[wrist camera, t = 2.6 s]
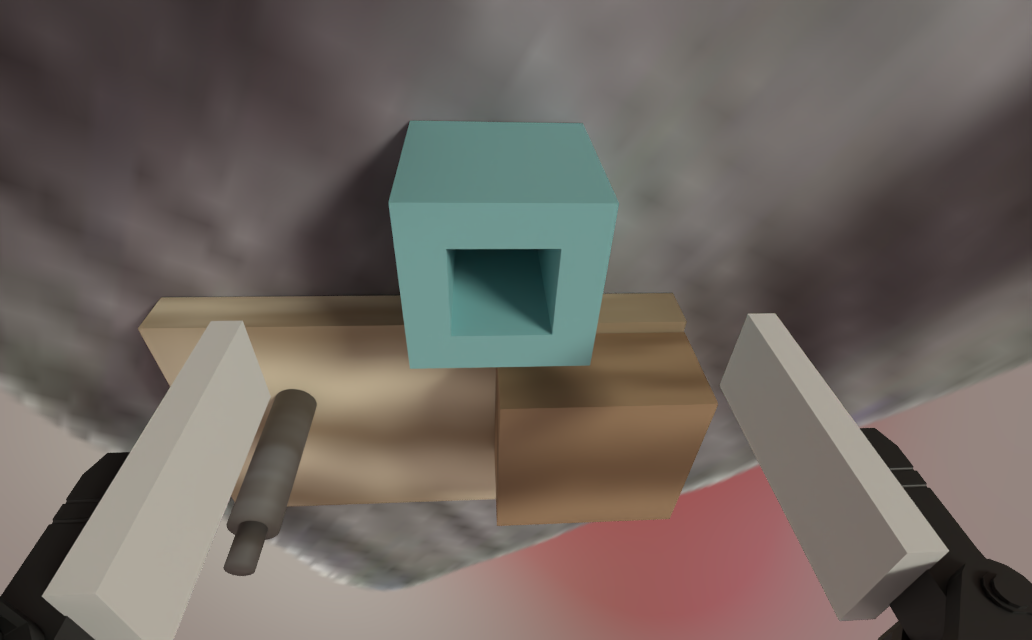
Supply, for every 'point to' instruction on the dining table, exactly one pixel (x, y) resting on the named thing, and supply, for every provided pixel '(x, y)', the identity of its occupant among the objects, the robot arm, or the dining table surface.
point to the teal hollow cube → (500, 243)
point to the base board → (356, 404)
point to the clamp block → (600, 432)
